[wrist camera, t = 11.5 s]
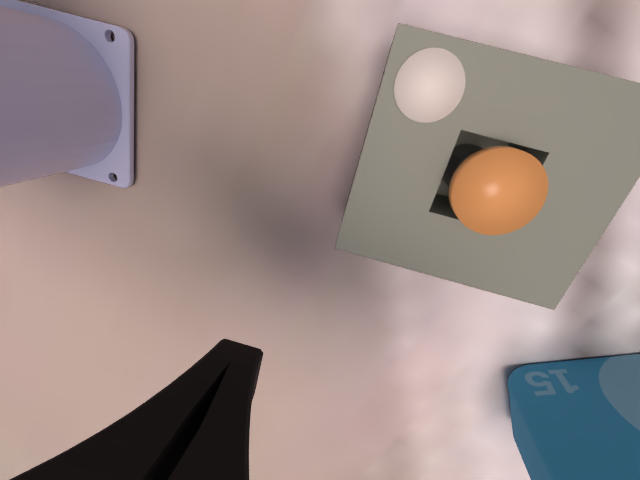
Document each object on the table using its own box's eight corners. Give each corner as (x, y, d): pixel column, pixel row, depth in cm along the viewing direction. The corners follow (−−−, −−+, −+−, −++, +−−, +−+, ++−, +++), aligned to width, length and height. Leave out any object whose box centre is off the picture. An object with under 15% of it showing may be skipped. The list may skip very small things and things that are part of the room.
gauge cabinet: (344, 211, 18) (334, 250, 14) (391, 45, 15) (398, 21, 10) (508, 256, 18) (556, 312, 13) (592, 96, 15) (697, 95, 10)
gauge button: (421, 188, 15) (439, 222, 11) (444, 126, 14) (473, 138, 10) (481, 204, 15) (521, 244, 11) (509, 143, 14) (566, 162, 10)
